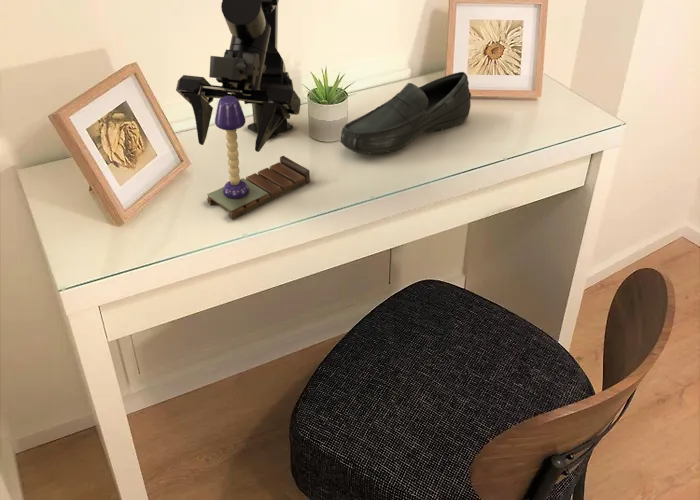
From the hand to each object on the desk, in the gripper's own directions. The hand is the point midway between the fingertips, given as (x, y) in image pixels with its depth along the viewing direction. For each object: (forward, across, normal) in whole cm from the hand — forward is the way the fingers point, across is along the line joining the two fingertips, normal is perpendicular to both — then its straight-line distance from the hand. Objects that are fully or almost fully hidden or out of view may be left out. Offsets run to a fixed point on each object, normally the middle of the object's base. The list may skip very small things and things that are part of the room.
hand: (228, 147), depth 117 cm
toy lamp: (+6, 0, +8) cm, 10 cm away
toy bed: (+4, +2, +11) cm, 12 cm away
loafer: (-14, +22, +30) cm, 40 cm away
